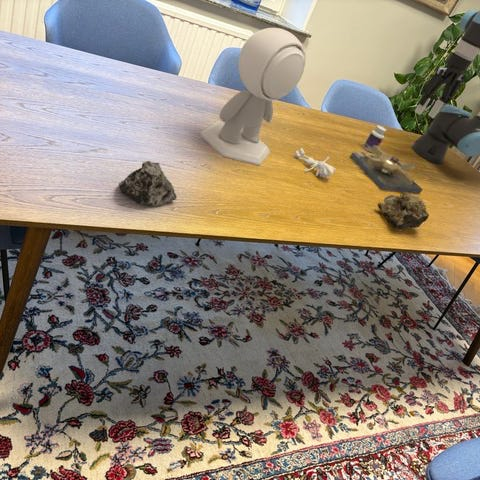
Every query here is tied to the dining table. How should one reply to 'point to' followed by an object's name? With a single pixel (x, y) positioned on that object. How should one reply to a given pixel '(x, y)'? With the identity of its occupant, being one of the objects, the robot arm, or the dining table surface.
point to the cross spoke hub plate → (383, 176)
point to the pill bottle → (374, 138)
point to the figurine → (316, 164)
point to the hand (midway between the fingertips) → (424, 114)
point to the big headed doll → (257, 94)
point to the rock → (148, 185)
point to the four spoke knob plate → (391, 165)
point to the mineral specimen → (404, 211)
